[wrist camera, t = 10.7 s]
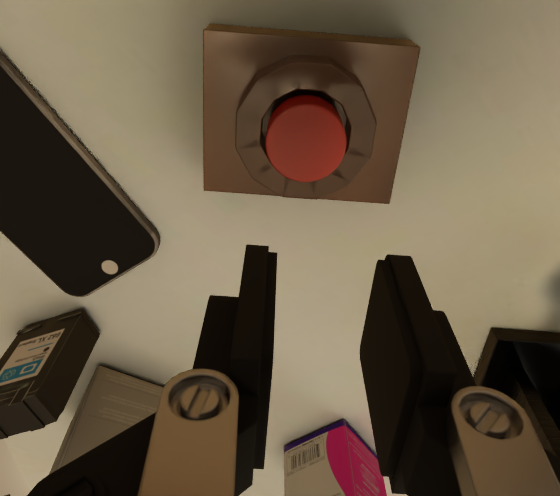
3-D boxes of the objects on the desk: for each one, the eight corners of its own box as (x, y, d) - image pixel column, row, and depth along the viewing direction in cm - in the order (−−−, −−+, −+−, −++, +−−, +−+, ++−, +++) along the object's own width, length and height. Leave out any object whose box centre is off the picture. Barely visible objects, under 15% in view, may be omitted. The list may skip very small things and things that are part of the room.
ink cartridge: (84, 305, 34) (32, 396, 27) (102, 331, 35) (56, 424, 28) (22, 325, 35) (-45, 418, 28) (40, 349, 36) (-19, 444, 29)
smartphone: (74, 304, 33) (-131, 109, 27) (78, 298, 34) (-122, 105, 27) (167, 249, 31) (-34, 22, 24) (169, 243, 31) (-26, 20, 25)
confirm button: (348, 97, 23) (352, 107, 22) (337, 171, 25) (340, 185, 24) (269, 91, 23) (267, 101, 22) (264, 166, 25) (263, 179, 23)
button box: (411, 39, 25) (430, 53, 22) (383, 188, 29) (395, 219, 26) (209, 23, 25) (196, 34, 22) (209, 175, 29) (198, 205, 26)
